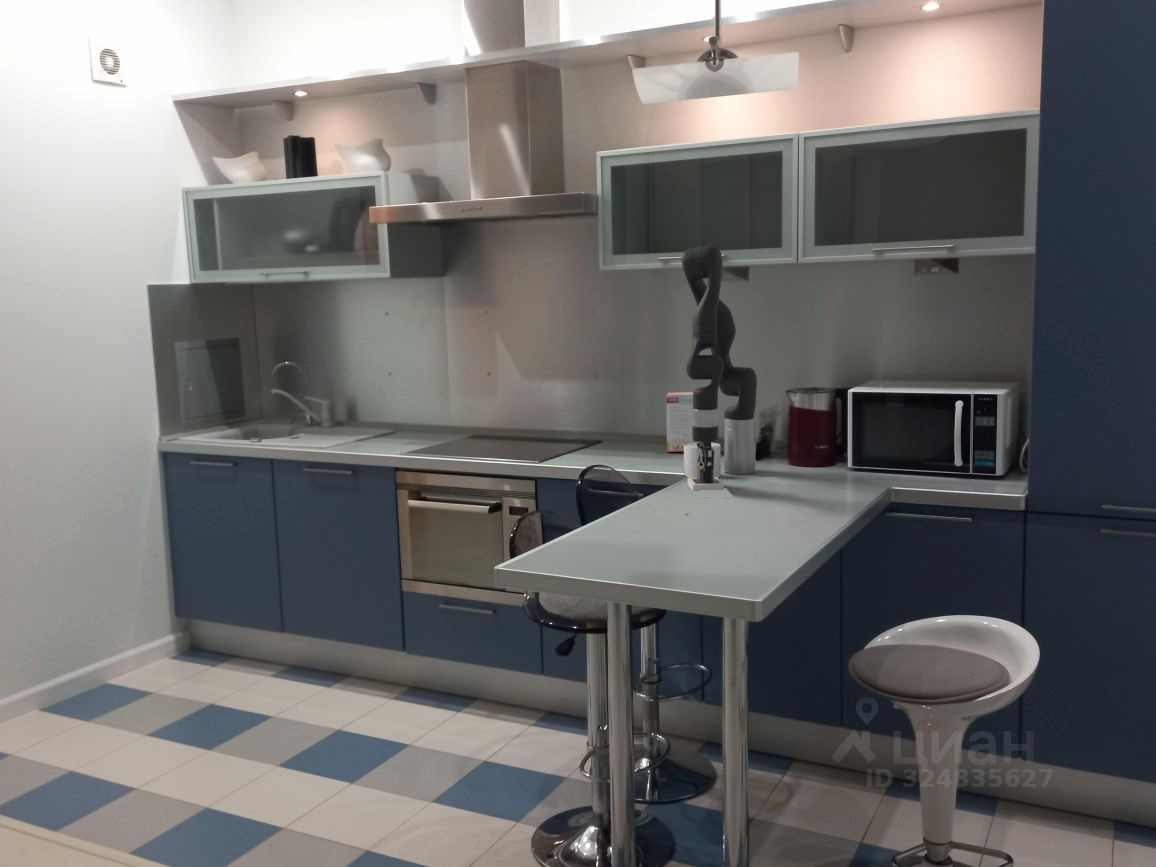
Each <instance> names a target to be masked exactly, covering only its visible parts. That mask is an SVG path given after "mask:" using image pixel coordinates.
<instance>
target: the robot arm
mask: <svg viewBox="0 0 1156 867" xmlns="http://www.w3.org/2000/svg"><path fill="white" fill-rule="evenodd" d="M723 265H724V264H723V256H722V253H721V250H720V249H719V247H718V245H714V244H711V245H704V246H699V247H693V248H688V249H685V250H684V251H683V252H682V253H681V266H682V270H683V273H684V276H685V279H686V280H687V283H688V287H689V288H690V290H691V293H692V295H693V298H694V301H695V303H696V306H697V307H696V309H695V311H694V313H693V316H692V330H691V331H692V340H691V341H692V342H691V343H692V344H691V349H690V353H689V357H688V360H687V362H686V363H687V364H686V368H685V369H686V375H687V376H688V377H689V379H691V380H693V381H694V380H695V381H696V380H697V381H700V380H702V381H703V380H711V381H710V383H709V384H708V385H706V386H703V387H698V388H695V389H694V390H693V414H692V439H693V440H694V441H697V442H699V443H697V457H698V460H697V462H698V465H699V466H703V470H704V483H705V484H708V483H711V482H712V470H713V469H714V450H713V447H711V442H712V443H713V442H717V441H718V440H719V411H718V399H719V398H718V397H719V396H718V395H719V390H720V392H721V393H722V394H723V395H725V396H729V397H738V400H737V403H736V404H735V405H733V406H730V407H727V408H725V409H724V412H723V413H724V414H723V415H724V416H723V417H724V420H723V421H724V423H723V424H724V426H723V427H724V432H723V433H724V435H723V436H724V437H723V438H724V440H723V442H724V444H723V445H724V446H723V448H724V449H723V450H724V452H723V453H724V454H723V456H724V458H723V460H724V461H723V462H724V463H723V467H724V470H723V471H725V473H726V472H727V473H726V474H730V473H731V474H730V475H748V474H755V473H756V451H757V450H756V448H757V446H756V442H755V439H754V438H755V435H754V434H755V432H754V430H755V411H756V405H757V404H756V403H757V388H758V387H757V386H758V378H757V373H756V371H755V370H754V369H753V368H751V367H745V366H742V367H741V366H734V365H733V363H732V361H731V357H730V351H731V348H732V345H733V343H734V340H735V338H736V332H737V331H736V330H737V328H736V324H735V321H734V318H733V314H732V311H731V310H730V308H729V306H727V304H725V302H723V301H722V300H721V299H720V293H721V286H722V285H721V284H722V276H723ZM704 279H708V281H707V285H706V282H705V280H704ZM707 349H710V352H711V354H700V353H701V352H702V351H704V350H707ZM700 455H701V456H700ZM708 463H709V464H710V466H707V465H708Z"/></svg>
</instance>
